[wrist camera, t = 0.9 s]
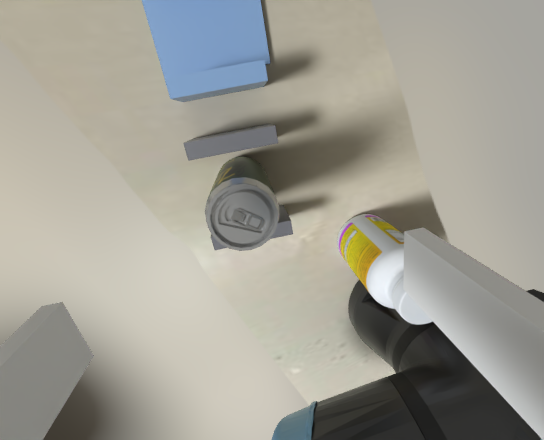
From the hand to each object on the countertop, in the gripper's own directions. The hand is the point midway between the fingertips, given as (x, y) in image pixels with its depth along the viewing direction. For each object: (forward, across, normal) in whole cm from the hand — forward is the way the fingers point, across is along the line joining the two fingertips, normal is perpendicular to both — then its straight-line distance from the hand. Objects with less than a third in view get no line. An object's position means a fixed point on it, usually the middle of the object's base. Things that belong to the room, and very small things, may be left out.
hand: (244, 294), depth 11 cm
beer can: (+21, 0, 0) cm, 21 cm away
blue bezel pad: (+21, 0, -14) cm, 25 cm away
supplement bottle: (+21, -13, +10) cm, 26 cm away
